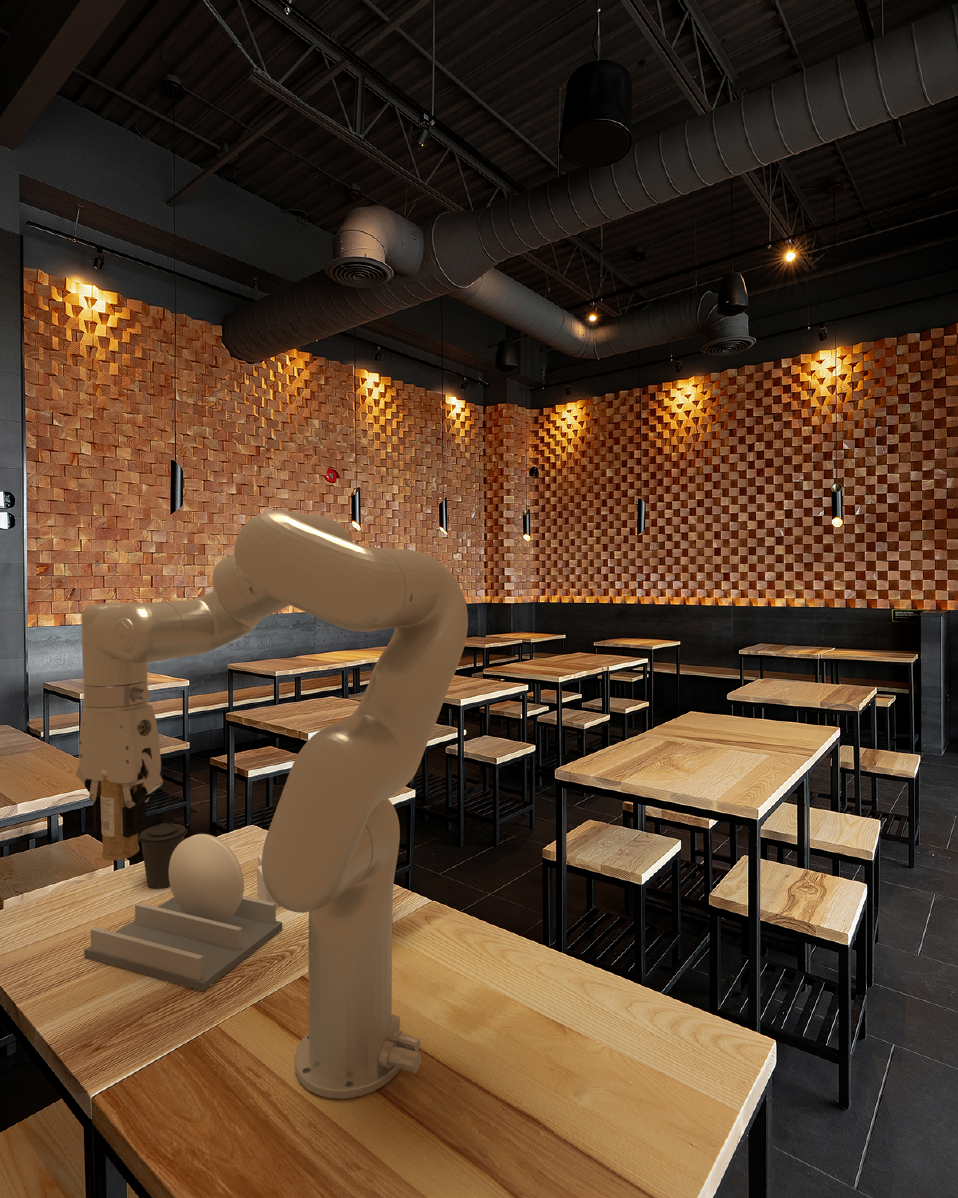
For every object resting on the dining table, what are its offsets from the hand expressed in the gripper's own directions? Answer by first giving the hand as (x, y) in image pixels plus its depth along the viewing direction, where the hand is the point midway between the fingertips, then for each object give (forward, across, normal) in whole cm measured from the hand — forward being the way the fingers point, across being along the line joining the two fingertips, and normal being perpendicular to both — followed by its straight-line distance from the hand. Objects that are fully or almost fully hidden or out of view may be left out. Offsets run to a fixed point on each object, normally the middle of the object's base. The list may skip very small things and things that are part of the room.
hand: (120, 829), depth 91 cm
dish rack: (+22, +1, -12) cm, 25 cm away
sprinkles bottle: (+4, 0, 0) cm, 4 cm away
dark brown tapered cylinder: (+22, +20, -26) cm, 39 cm away
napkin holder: (+23, -1, -30) cm, 38 cm away
